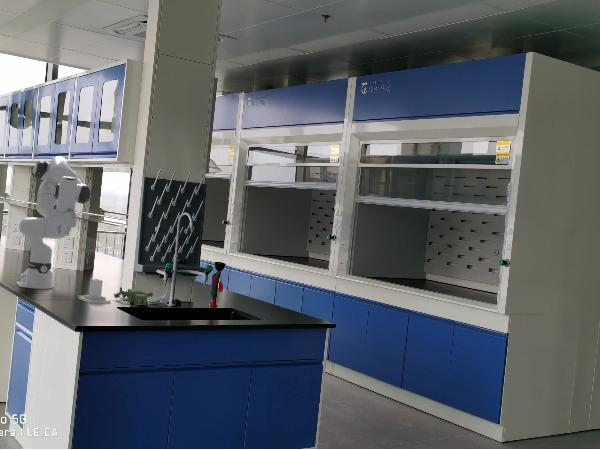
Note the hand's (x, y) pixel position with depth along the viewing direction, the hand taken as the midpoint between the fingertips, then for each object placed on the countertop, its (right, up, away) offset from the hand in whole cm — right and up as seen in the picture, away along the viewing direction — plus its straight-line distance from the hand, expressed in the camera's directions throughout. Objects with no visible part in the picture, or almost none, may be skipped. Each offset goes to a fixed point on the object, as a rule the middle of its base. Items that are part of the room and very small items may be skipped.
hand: (62, 234), depth 351 cm
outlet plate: (+14, -35, +6) cm, 38 cm away
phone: (+10, -34, +13) cm, 38 cm away
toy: (+32, -37, +20) cm, 53 cm away
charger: (+14, -34, +6) cm, 37 cm away
